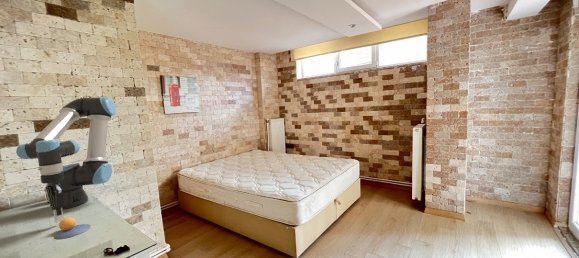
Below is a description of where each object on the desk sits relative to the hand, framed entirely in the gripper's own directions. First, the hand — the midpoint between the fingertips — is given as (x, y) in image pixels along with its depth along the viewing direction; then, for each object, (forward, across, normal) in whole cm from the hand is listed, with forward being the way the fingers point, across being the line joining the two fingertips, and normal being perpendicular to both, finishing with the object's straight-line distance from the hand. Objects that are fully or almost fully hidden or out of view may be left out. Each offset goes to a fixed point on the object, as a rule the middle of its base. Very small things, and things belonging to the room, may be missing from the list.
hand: (59, 221), depth 110 cm
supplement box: (+2, -44, +13) cm, 46 cm away
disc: (+2, +14, 0) cm, 14 cm away
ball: (-1, +10, 0) cm, 10 cm away
